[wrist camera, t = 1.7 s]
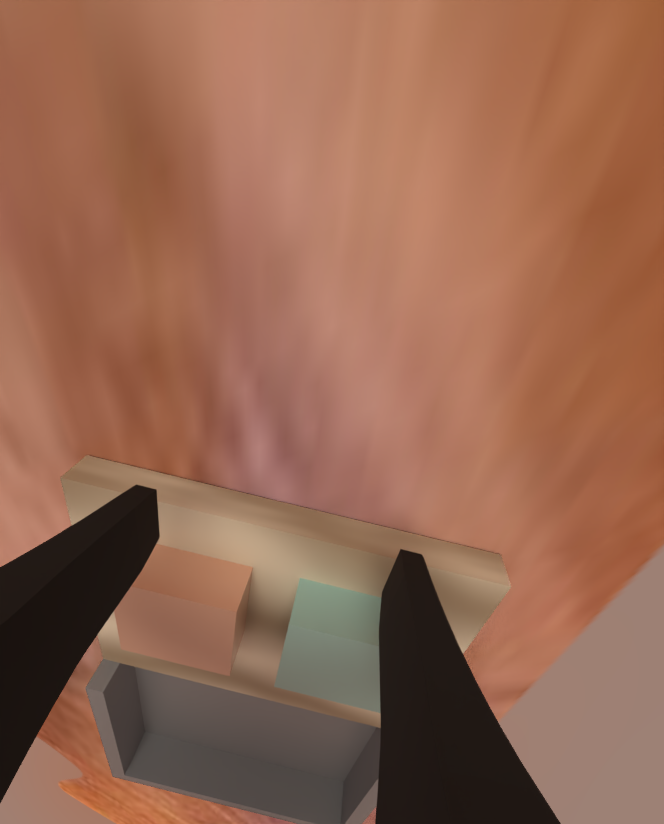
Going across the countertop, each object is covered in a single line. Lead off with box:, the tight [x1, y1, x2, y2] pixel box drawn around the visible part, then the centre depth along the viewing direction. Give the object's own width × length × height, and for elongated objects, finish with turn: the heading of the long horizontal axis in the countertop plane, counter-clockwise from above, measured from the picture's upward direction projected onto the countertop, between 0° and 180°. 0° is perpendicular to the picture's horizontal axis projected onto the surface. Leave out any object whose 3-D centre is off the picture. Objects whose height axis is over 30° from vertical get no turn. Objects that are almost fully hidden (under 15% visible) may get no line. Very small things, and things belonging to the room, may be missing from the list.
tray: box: [86, 659, 381, 824], centre depth 25 cm, size 14×18×3 cm
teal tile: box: [274, 578, 381, 713], centre depth 16 cm, size 5×5×2 cm
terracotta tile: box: [114, 544, 253, 676], centre depth 16 cm, size 5×5×2 cm
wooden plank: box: [60, 455, 511, 728], centre depth 19 cm, size 14×18×2 cm
